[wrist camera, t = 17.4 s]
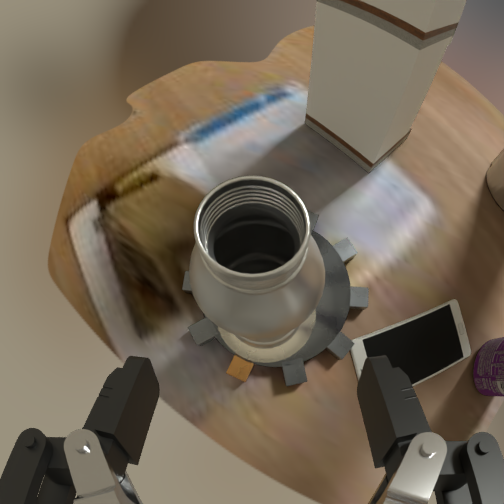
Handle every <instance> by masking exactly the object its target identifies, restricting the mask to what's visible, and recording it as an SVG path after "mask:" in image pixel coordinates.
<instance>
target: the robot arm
mask: <svg viewBox="0 0 504 504" xmlns="http://www.w3.org/2000/svg"><path fill="white" fill-rule="evenodd" d="M486 176H487V184H488V187H489V190H490V192H491V194H492V196H493V197H494V199H495V201H496V202H497V203H498V205H499V206H500V207H501V208H502V209H503V210H504V149H503V150H502V151H501V152H500V154H499V155H498V156H497V157H496V158H495V159H494V161H493V162H492V166H491V167H490V168H489V169H488V171H487V175H486ZM357 395H358V400H359V404H360V408H361V412H362V416H363V420H364V424H365V428H366V432H367V436H368V440H369V444H370V448H371V453H372V457H373V461H374V466H375V468H379V467H384V466H385V471H386V474H385V475H384V477H383V479H382V481H381V483H380V484H379V486H378V488H377V489H376V491H375V493H374V495H373V496H372V498H371V499H370V501H369V503H368V504H427V503H428V500H429V498H430V496H431V493H432V491H435V495H436V500H437V504H504V459H503V456H502V453H501V451H500V448H499V445H498V443H497V441H496V439H495V438H494V437H493V436H492V435H491V434H489V433H486V432H479V433H476V434H475V435H473V436H472V437H471V438H470V439H469V440H468V441H445V440H444V439H443V438H442V437H441V436H439V435H438V434H436V433H433V432H432V431H431V429H430V427H429V425H428V422H427V420H426V417H425V415H424V412H423V410H422V407H421V405H420V402H419V400H418V398H417V397H416V396H417V395H416V393H415V391H414V389H413V386H412V384H411V382H410V379H409V377H408V375H406V374H405V373H404V372H403V371H402V370H401V369H400V368H399V367H397V368H392V366H391V364H390V361H389V359H388V357H387V356H385V355H384V356H376V357H367V358H366V359H365V362H364V365H363V369H362V372H361V375H360V379H359V382H358V387H357ZM158 398H159V383H158V381H157V378H156V375H155V372H154V370H153V367H152V364H151V361H150V359H149V358H144V357H134V356H129V357H128V358H127V360H126V362H125V364H124V366H123V368H116V369H115V370H114V371H113V372H112V373H111V374H110V375H109V376H108V377H107V379H106V381H105V383H104V385H103V388H102V389H101V391H100V393H99V397H97V400H96V402H95V404H94V406H93V408H92V410H91V412H90V414H89V416H88V418H87V421H86V423H85V425H84V427H83V428H82V429H78V430H75V431H73V432H71V433H70V434H69V435H68V436H67V437H66V438H65V437H64V438H62V437H46V436H45V435H44V434H43V433H42V432H41V431H40V430H38V429H35V428H29V429H27V430H24V431H23V432H22V433H21V434H20V436H19V437H18V439H17V441H16V443H15V446H14V448H13V450H12V452H11V455H10V457H9V459H8V462H7V464H6V466H5V469H4V471H3V474H2V476H1V479H0V504H73V503H74V504H143V503H142V502H141V500H140V498H139V496H138V494H137V492H136V490H135V488H134V486H133V484H132V482H131V480H130V478H129V476H128V474H127V472H126V467H127V464H128V463H130V464H135V465H138V462H139V459H140V456H141V452H142V449H143V446H144V442H145V439H146V436H147V433H148V430H149V426H150V423H151V420H152V416H153V414H154V410H155V407H156V404H157V401H158ZM44 475H45V476H44ZM43 477H44V479H43ZM42 480H43V482H42ZM41 483H42V485H41ZM40 486H41V488H40ZM39 489H40V491H39ZM38 492H39V494H38ZM76 492H77V498H75V496H76ZM37 495H38V497H37Z"/></svg>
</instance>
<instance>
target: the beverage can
mask: <svg viewBox="0 0 504 504" xmlns="http://www.w3.org/2000/svg"><path fill="white" fill-rule="evenodd" d="M473 376H474V383H475V386H476V388H477V390H478V391H479V392H480V393H481V394H483V395H486V396H504V337H502V338H497V339H492V340H489V341H487V342H486V343H485V344H484V345H483V346H482V347H481V349H480V350H479V352H478V354H477V357H476V359H475V363H474V371H473Z"/></svg>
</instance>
